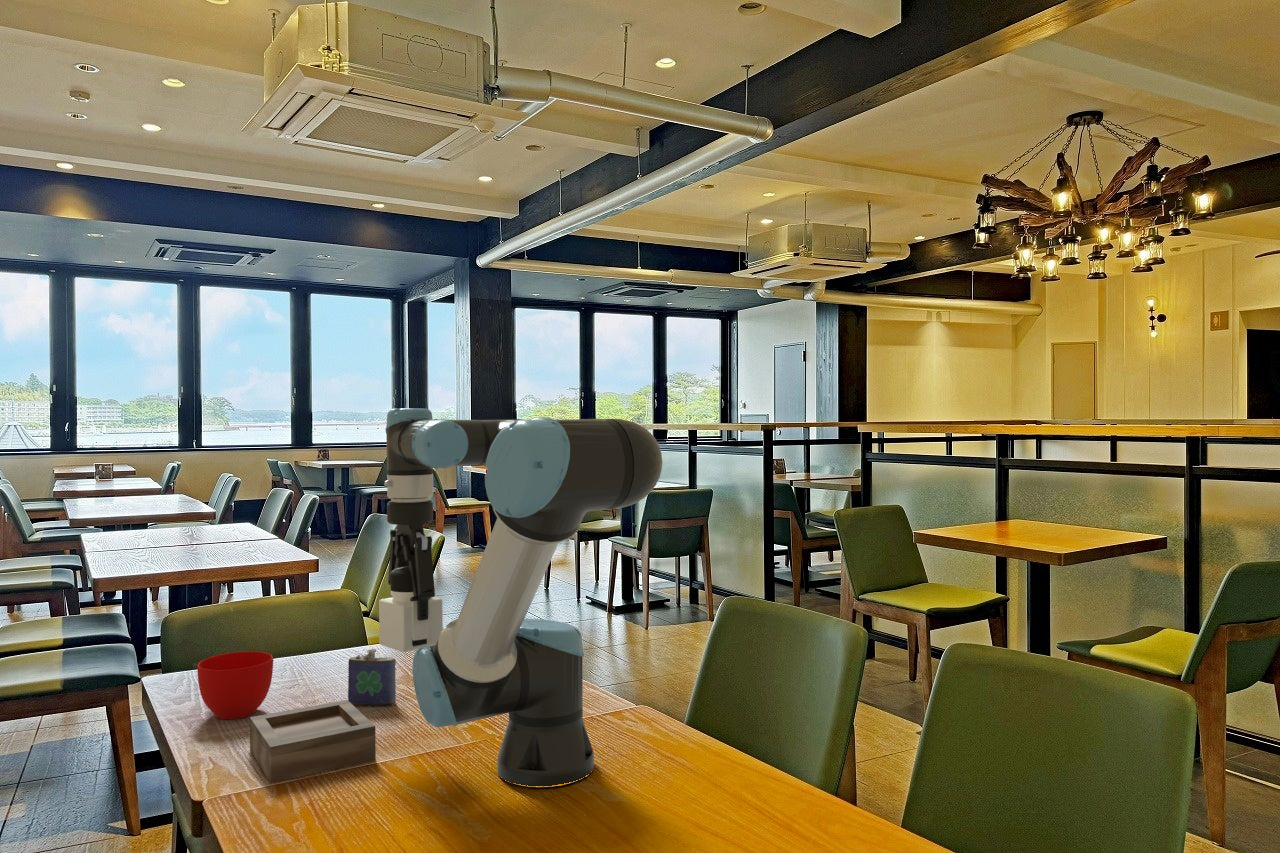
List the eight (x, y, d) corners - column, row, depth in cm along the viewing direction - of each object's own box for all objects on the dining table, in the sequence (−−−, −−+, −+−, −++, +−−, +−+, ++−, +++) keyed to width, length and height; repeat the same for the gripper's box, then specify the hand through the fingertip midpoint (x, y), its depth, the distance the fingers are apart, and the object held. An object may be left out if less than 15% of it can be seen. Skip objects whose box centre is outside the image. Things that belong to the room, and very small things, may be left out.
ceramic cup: (250, 693, 177) (249, 644, 177) (284, 713, 165) (284, 660, 165) (180, 708, 168) (180, 656, 168) (211, 731, 156) (211, 674, 156)
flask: (397, 702, 171) (397, 647, 171) (392, 707, 168) (392, 651, 168) (350, 701, 172) (350, 647, 172) (345, 706, 169) (344, 651, 169)
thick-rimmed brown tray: (375, 759, 142) (375, 726, 142) (270, 783, 133) (270, 747, 133) (347, 730, 156) (347, 699, 156) (250, 750, 147) (249, 717, 147)
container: (443, 644, 149) (443, 567, 149) (403, 653, 143) (402, 573, 143) (418, 636, 154) (417, 562, 154) (378, 645, 148) (377, 568, 148)
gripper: (368, 496, 155) (369, 624, 155) (410, 505, 137) (411, 650, 138) (410, 494, 159) (410, 618, 159) (455, 503, 142) (456, 643, 142)
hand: (410, 633), depth 149 cm, fingers closed on container, 9 cm apart
